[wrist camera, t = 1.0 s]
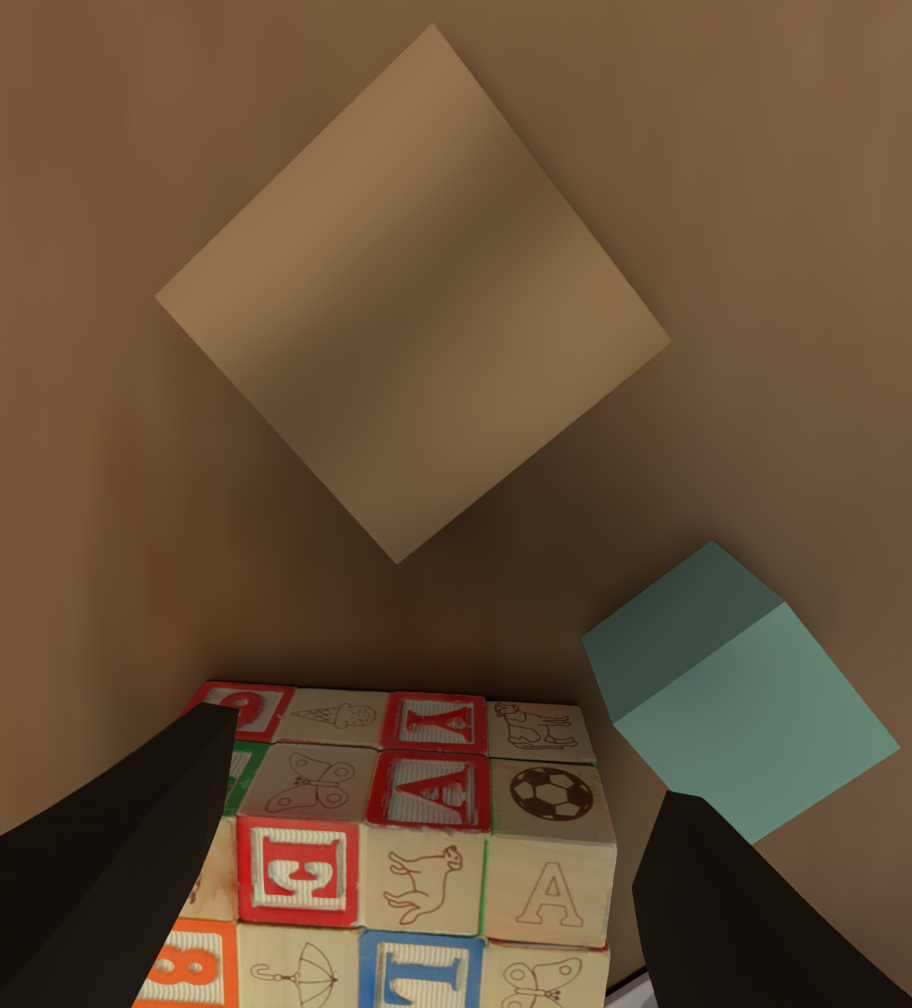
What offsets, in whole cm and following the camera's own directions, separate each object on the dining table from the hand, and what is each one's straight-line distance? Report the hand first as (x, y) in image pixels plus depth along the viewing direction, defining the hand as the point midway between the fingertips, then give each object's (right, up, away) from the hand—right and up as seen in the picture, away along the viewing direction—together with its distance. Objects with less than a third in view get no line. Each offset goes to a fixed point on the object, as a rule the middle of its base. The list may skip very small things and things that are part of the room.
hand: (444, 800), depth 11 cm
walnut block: (-1, +10, +8) cm, 13 cm away
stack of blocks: (-9, -12, +10) cm, 18 cm away
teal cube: (+8, 0, +10) cm, 13 cm away
